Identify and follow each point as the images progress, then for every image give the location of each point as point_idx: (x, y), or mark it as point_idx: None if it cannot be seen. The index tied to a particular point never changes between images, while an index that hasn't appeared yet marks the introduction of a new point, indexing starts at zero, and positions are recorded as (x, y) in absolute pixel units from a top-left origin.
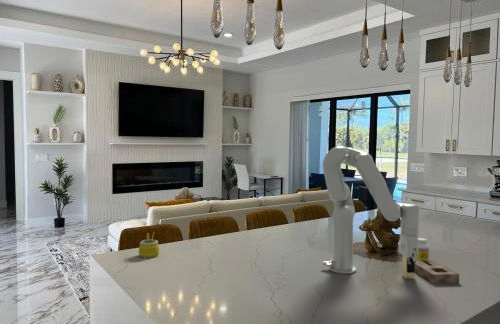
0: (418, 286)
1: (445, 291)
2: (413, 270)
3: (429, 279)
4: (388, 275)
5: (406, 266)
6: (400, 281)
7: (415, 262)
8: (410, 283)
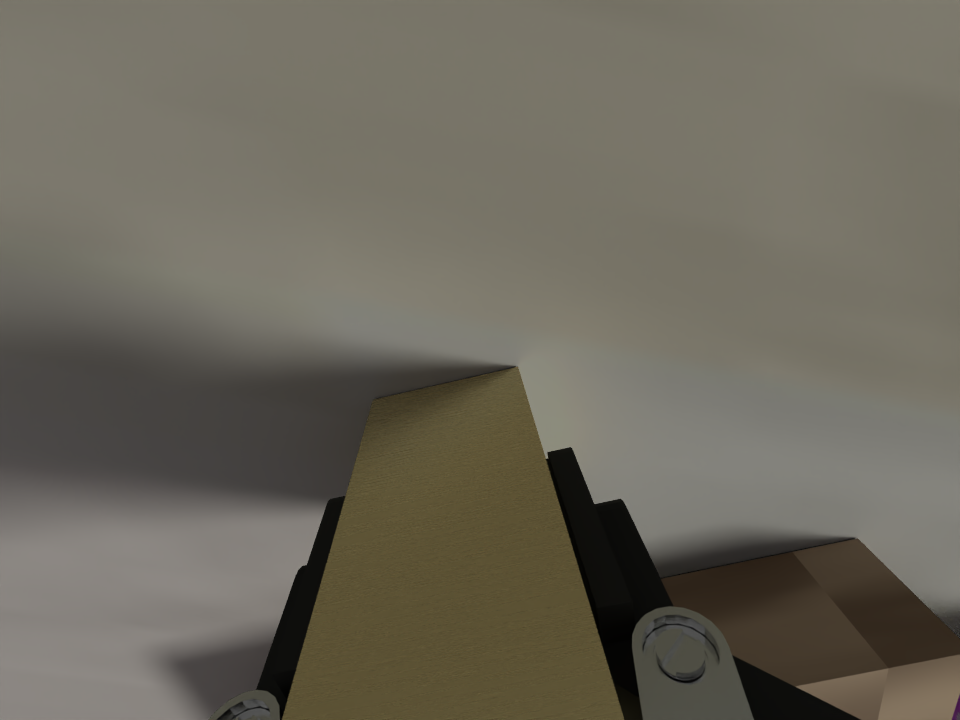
0: (82, 500)
1: (53, 712)
2: None
3: None
4: (518, 114)
5: (326, 573)
6: (213, 285)
7: (855, 693)
8: (174, 422)
